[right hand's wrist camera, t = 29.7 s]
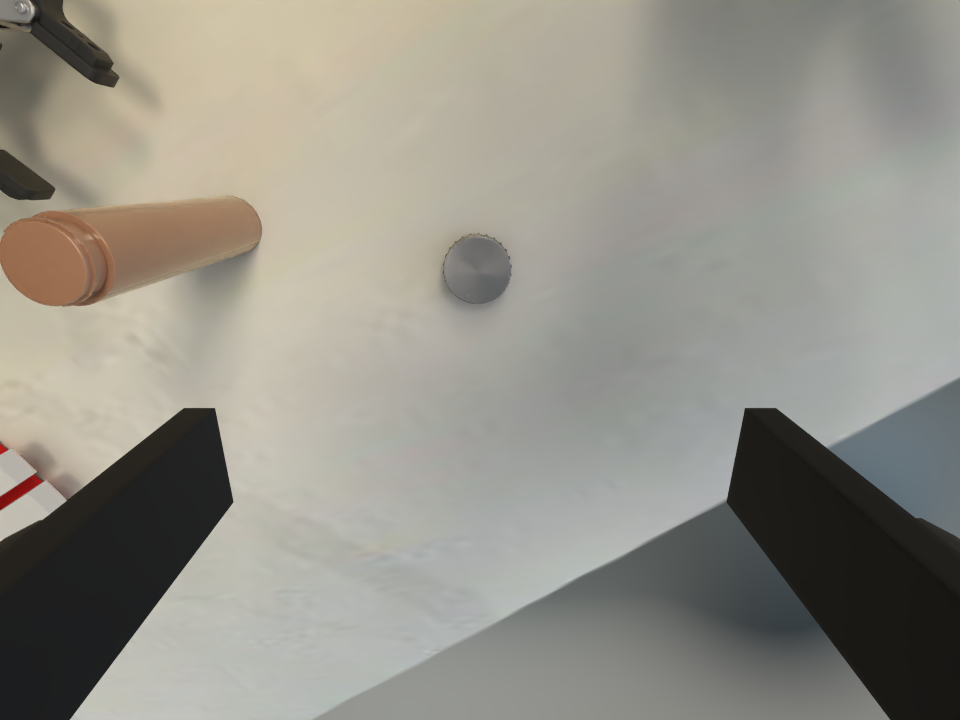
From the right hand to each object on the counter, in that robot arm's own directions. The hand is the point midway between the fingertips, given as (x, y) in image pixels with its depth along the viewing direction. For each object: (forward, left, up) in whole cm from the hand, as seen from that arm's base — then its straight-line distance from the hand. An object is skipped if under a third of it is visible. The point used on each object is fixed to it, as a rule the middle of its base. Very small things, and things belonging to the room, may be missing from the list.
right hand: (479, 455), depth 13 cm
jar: (+3, -19, -29) cm, 35 cm away
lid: (0, 0, -28) cm, 28 cm away
